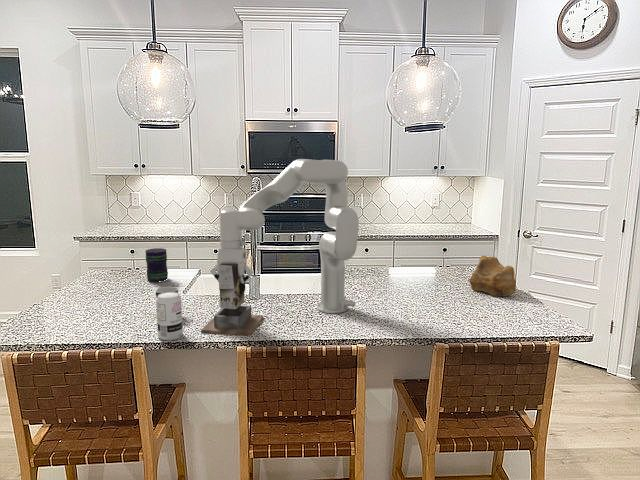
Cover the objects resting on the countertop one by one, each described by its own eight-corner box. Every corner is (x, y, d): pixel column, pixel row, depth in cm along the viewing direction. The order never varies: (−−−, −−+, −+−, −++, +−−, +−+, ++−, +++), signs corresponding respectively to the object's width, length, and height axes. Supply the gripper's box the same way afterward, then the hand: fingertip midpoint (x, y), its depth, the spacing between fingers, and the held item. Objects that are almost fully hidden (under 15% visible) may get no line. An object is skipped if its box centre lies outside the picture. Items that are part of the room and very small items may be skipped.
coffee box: (236, 309, 174) (235, 265, 171) (219, 308, 175) (218, 264, 172) (245, 301, 183) (244, 259, 180) (229, 300, 184) (228, 258, 181)
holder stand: (263, 318, 188) (263, 304, 187) (250, 335, 170) (250, 320, 169) (218, 315, 190) (217, 302, 189) (201, 332, 173) (200, 317, 172)
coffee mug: (155, 312, 194) (154, 288, 192) (178, 309, 197) (177, 285, 195) (158, 322, 183) (157, 296, 181) (182, 319, 186) (181, 293, 185)
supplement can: (161, 332, 173) (158, 291, 170) (185, 331, 173) (183, 291, 171) (155, 341, 165) (153, 298, 162) (180, 340, 166) (178, 298, 163)
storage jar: (153, 277, 246) (151, 247, 243) (171, 277, 245) (170, 248, 242) (143, 282, 236) (141, 252, 233) (162, 283, 235) (160, 252, 232)
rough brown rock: (458, 287, 234) (458, 257, 231) (490, 282, 237) (490, 252, 234) (485, 303, 212) (485, 270, 208) (519, 298, 215) (520, 265, 212)
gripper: (257, 243, 177) (258, 290, 180) (211, 241, 179) (213, 288, 183) (251, 247, 170) (252, 296, 173) (204, 245, 172) (205, 294, 175)
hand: (232, 292), depth 178 cm, fingers closed on coffee box, 6 cm apart
